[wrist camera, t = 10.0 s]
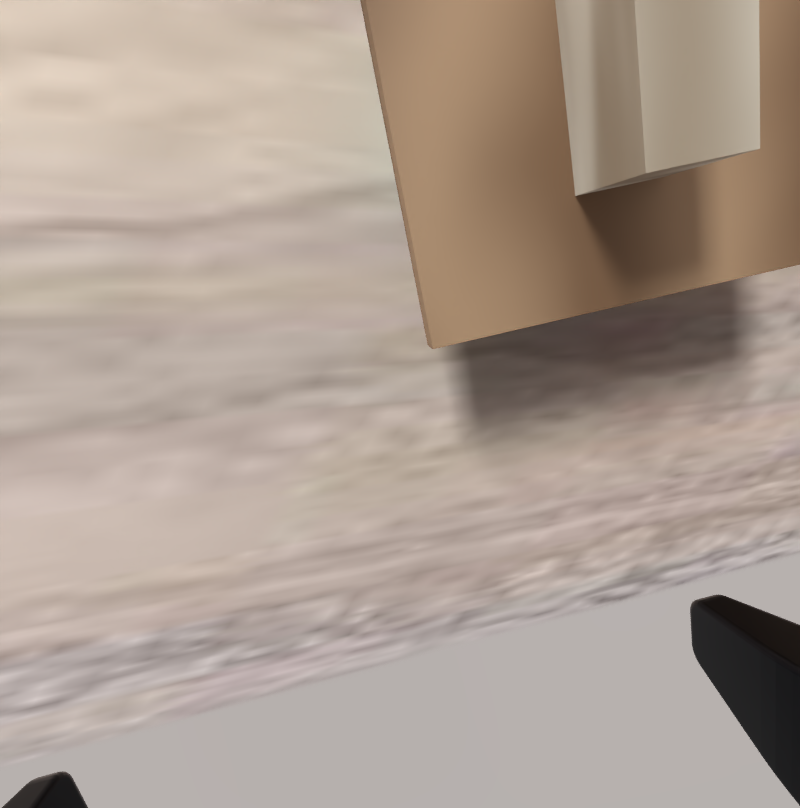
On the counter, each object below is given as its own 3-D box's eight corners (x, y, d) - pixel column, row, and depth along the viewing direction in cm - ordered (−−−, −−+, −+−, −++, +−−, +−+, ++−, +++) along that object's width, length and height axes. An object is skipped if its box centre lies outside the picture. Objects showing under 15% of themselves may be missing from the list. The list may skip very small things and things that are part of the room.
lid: (795, -221, 12) (1007, -449, 8) (791, 261, 15) (942, 257, 11) (332, -144, 11) (329, -354, 7) (427, 345, 14) (459, 370, 10)
